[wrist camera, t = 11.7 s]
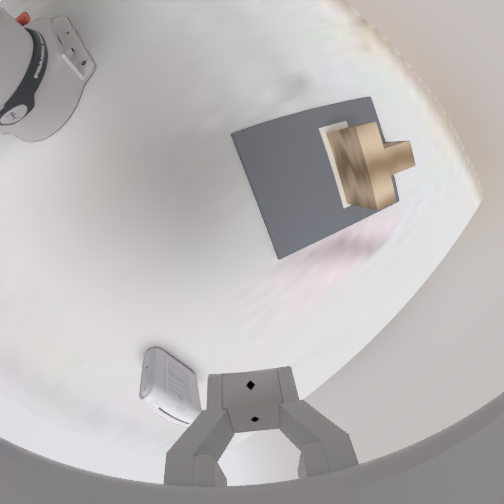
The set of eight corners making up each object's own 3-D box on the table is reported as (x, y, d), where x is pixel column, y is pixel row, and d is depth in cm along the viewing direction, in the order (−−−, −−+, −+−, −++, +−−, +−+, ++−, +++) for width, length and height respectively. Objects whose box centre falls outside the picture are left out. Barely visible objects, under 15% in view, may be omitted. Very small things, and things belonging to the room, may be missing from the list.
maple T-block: (325, 133, 39) (355, 126, 32) (371, 121, 41) (402, 115, 33) (347, 203, 43) (377, 210, 36) (388, 185, 45) (420, 189, 37)
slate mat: (230, 134, 36) (231, 133, 36) (368, 97, 40) (370, 96, 39) (277, 258, 43) (279, 259, 43) (397, 200, 47) (399, 201, 46)
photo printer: (139, 356, 42) (133, 407, 30) (155, 341, 42) (152, 392, 30) (183, 386, 45) (189, 437, 34) (199, 374, 45) (209, 424, 34)
